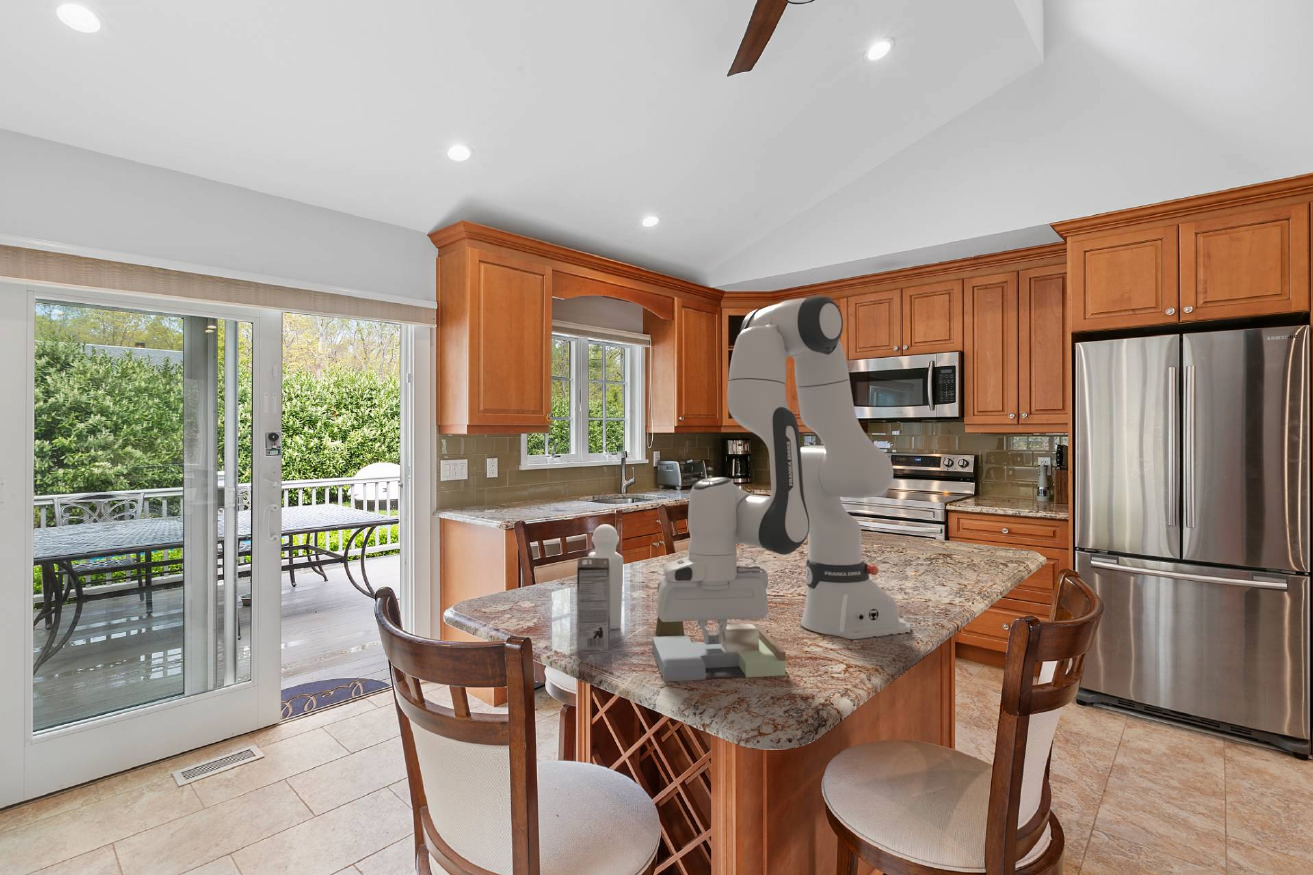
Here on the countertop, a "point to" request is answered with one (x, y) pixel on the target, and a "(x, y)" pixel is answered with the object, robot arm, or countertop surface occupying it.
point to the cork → (669, 627)
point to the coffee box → (593, 603)
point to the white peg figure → (605, 548)
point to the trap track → (716, 659)
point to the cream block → (740, 638)
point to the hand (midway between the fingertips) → (712, 643)
